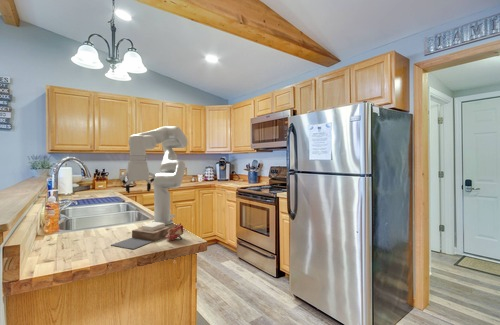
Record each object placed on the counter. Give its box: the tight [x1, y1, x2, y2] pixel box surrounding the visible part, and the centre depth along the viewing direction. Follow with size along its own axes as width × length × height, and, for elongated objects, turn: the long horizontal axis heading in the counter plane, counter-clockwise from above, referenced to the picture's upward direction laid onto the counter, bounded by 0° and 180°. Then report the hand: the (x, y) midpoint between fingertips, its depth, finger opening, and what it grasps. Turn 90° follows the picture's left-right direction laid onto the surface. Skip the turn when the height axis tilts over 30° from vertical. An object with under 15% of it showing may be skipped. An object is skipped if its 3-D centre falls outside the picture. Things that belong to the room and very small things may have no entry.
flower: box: [164, 222, 185, 241], centre depth 128 cm, size 10×9×8 cm
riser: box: [131, 225, 172, 243], centre depth 134 cm, size 13×14×4 cm
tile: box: [141, 221, 166, 231], centre depth 135 cm, size 9×7×2 cm
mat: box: [110, 237, 153, 251], centre depth 122 cm, size 12×14×1 cm
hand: (138, 191), depth 133 cm, fingers open, 9 cm apart
